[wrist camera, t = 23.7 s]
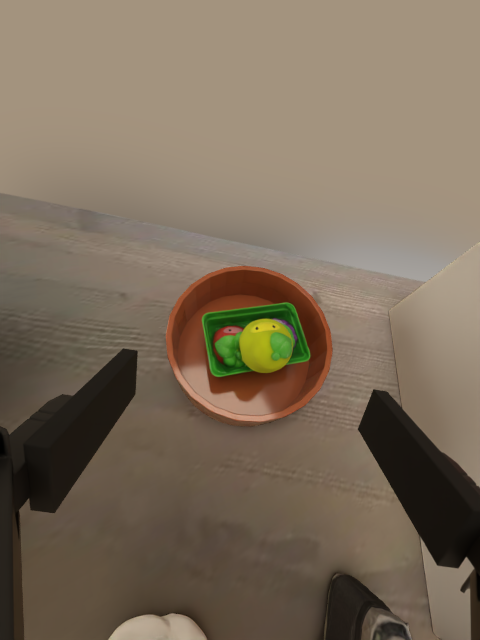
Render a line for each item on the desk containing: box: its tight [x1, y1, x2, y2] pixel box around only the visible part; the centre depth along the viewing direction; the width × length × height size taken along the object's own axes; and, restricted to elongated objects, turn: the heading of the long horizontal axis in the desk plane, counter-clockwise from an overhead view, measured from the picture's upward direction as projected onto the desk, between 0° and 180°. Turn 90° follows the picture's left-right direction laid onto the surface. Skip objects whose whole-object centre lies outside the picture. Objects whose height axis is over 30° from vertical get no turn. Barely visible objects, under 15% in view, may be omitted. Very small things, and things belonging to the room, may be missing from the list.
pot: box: [166, 266, 332, 427], centre depth 31 cm, size 18×18×6 cm
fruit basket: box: [202, 303, 310, 377], centre depth 29 cm, size 11×9×11 cm
